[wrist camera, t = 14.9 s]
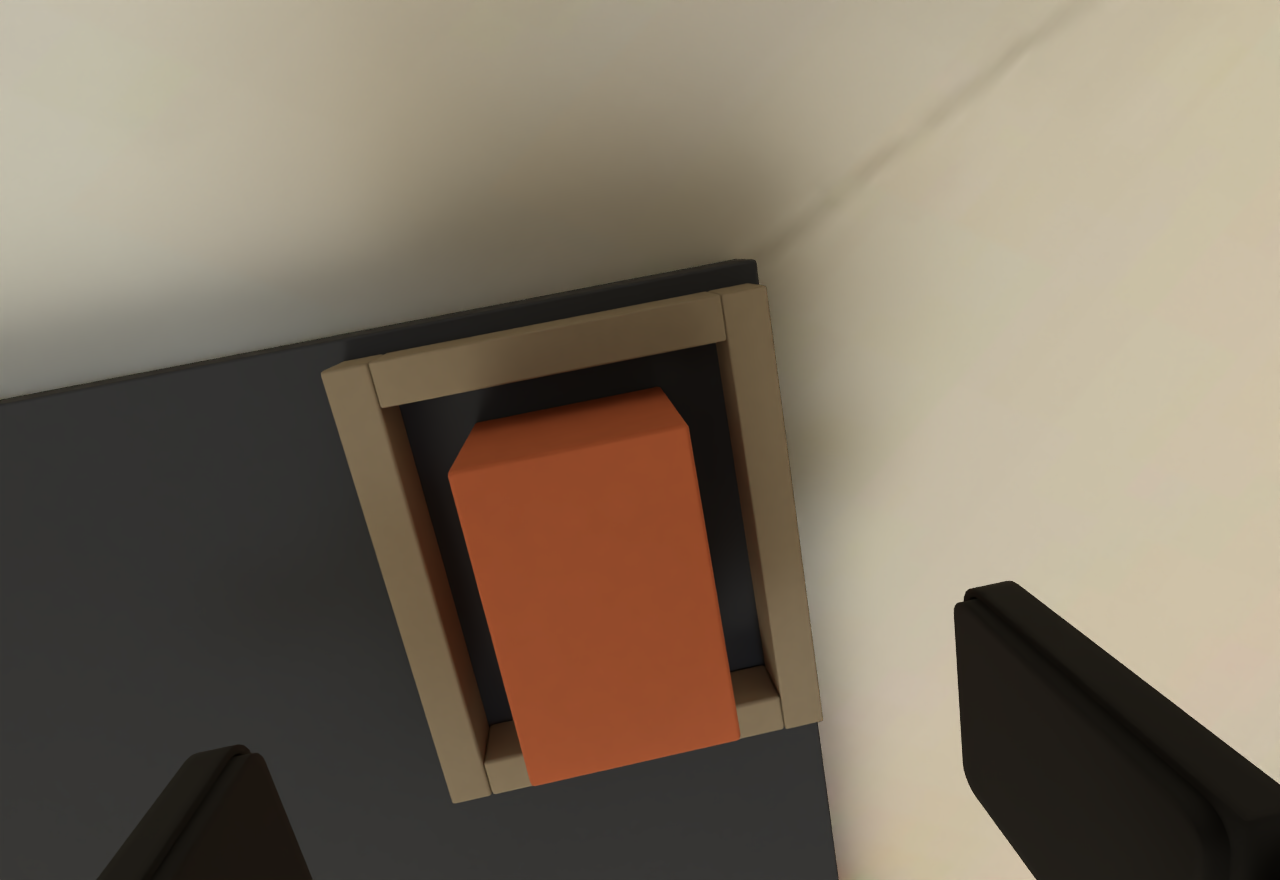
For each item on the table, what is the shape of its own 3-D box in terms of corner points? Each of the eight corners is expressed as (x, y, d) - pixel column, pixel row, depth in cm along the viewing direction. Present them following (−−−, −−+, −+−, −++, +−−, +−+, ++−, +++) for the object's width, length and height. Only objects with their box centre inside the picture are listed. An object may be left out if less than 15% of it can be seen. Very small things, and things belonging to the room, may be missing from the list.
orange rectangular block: (473, 422, 17) (445, 472, 13) (660, 385, 17) (688, 423, 13) (538, 678, 18) (531, 788, 15) (706, 641, 19) (742, 741, 15)
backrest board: (-144, 427, 17) (-319, 469, 14) (736, 258, 18) (774, 258, 15) (255, 1230, 25) (207, 1381, 22) (852, 1079, 26) (894, 1201, 23)
